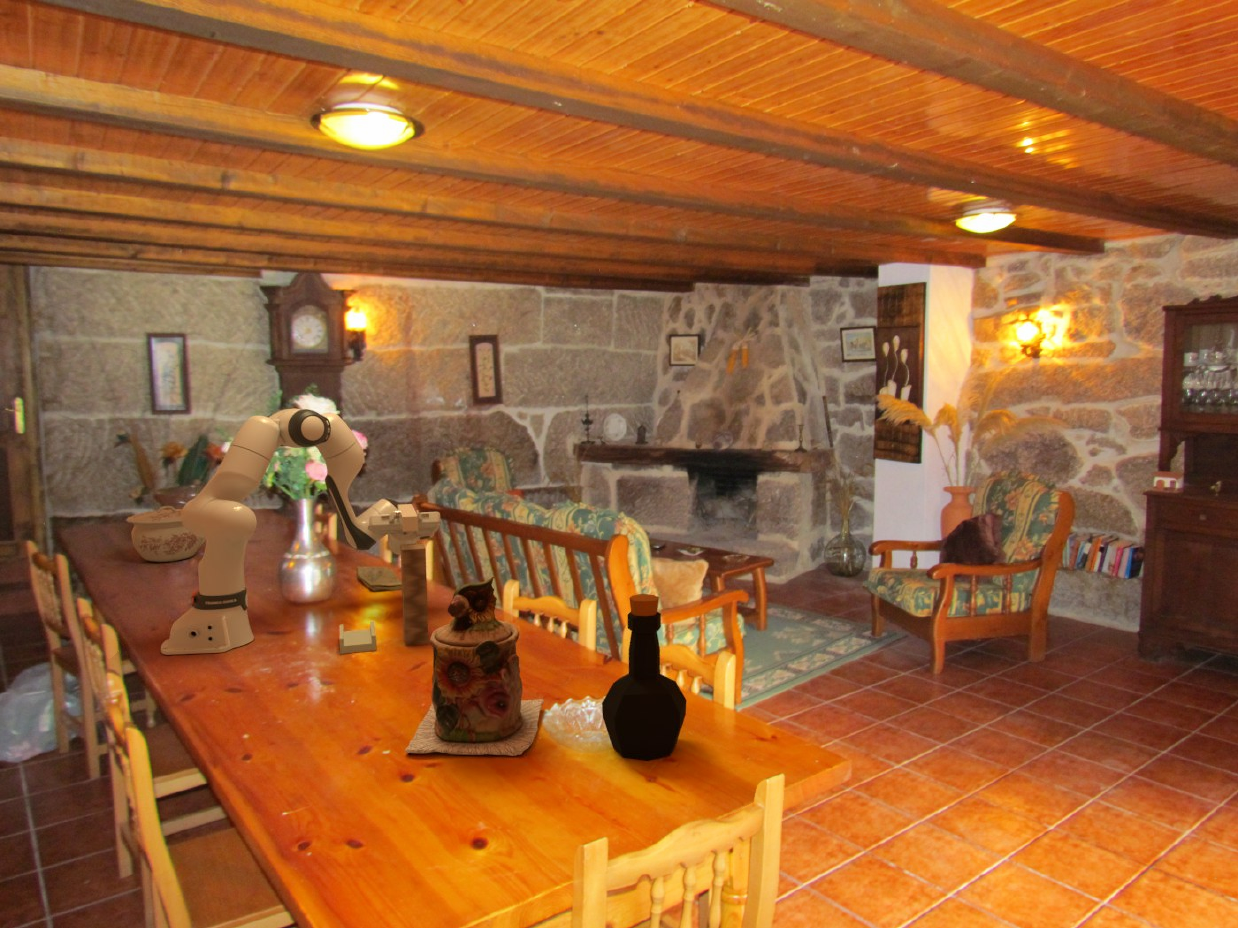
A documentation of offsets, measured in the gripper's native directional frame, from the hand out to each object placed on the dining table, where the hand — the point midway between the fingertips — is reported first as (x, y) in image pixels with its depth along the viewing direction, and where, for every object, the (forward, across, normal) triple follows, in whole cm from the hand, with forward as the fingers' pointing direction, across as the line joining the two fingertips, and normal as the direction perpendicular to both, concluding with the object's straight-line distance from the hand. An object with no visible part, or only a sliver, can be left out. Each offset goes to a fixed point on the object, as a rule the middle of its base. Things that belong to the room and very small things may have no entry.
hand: (406, 513), depth 246 cm
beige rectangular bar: (+2, 0, +4) cm, 5 cm away
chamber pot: (-116, -81, -28) cm, 145 cm away
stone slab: (-62, -6, +3) cm, 62 cm away
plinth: (0, 0, +37) cm, 37 cm away
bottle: (+70, +37, +76) cm, 110 cm away
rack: (-2, -15, +36) cm, 39 cm away
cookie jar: (+54, +8, +68) cm, 87 cm away
